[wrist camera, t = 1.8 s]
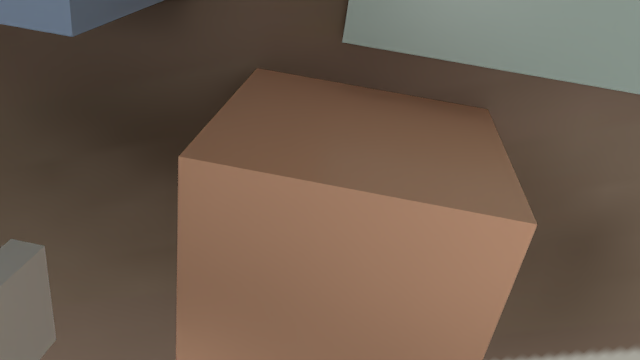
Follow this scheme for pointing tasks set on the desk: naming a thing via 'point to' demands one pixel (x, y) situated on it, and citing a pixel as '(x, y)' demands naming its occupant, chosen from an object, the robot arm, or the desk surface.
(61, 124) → the desk surface
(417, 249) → the brick terracotta
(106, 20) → the brick blue
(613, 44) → the base plate
